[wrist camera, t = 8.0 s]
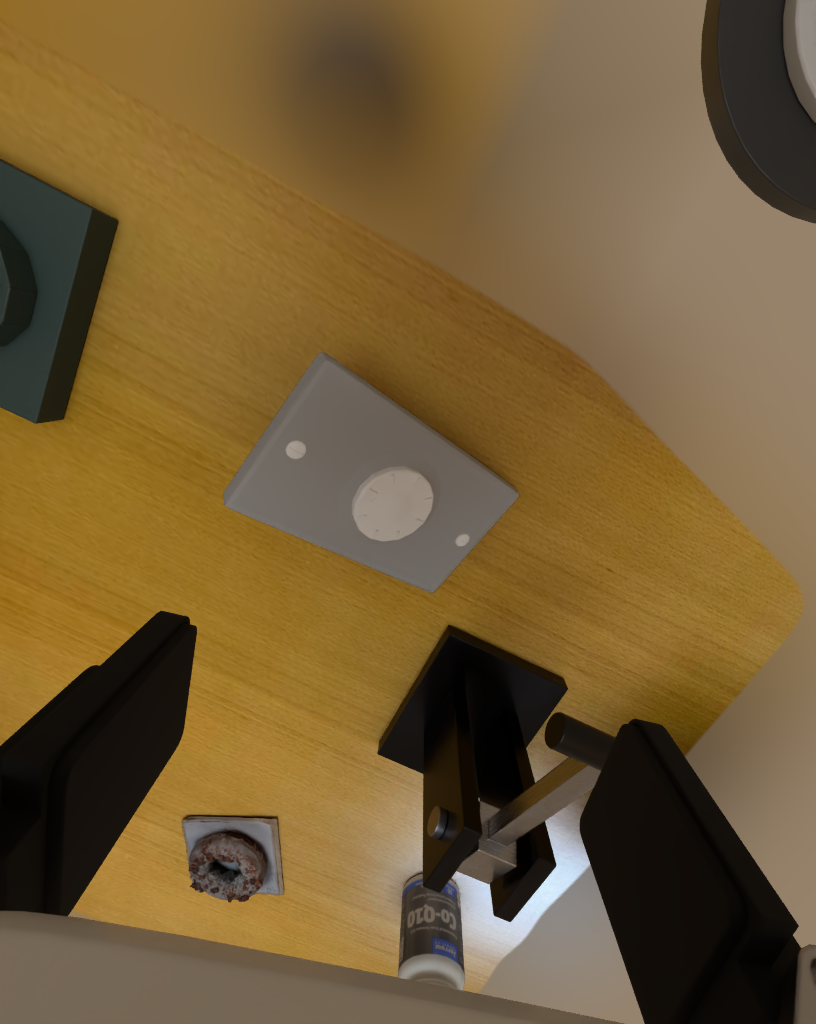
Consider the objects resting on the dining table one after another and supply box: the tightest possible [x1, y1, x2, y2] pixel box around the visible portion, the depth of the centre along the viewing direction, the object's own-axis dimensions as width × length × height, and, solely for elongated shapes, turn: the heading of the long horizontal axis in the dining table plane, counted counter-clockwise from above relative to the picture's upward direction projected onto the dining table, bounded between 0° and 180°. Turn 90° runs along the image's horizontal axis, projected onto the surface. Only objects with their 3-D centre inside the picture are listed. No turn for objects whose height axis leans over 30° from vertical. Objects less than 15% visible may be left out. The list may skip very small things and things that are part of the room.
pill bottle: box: [398, 874, 465, 990], centre depth 36 cm, size 5×5×8 cm
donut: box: [182, 816, 284, 902], centre depth 39 cm, size 8×8×2 cm
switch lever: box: [457, 712, 616, 884], centre depth 23 cm, size 12×5×2 cm, turn 154°
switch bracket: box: [378, 625, 568, 922], centre depth 29 cm, size 11×9×12 cm
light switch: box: [223, 352, 519, 593], centre depth 28 cm, size 8×6×14 cm
